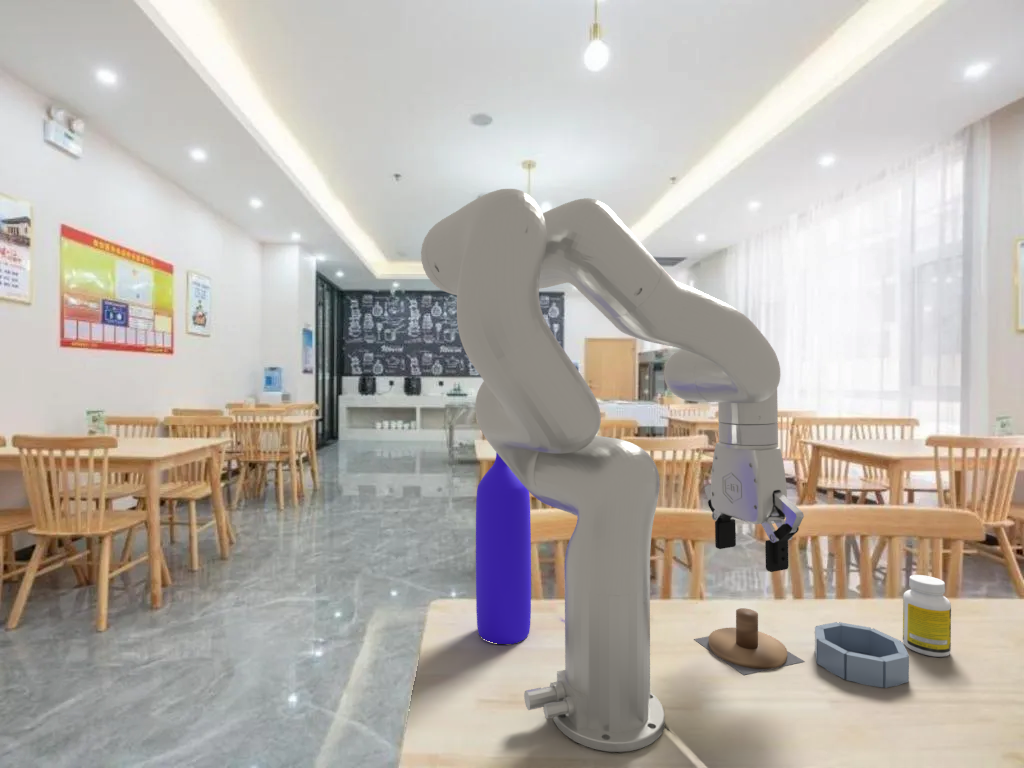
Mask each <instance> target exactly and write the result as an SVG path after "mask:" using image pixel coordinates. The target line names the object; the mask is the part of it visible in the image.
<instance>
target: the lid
mask: <svg viewBox="0 0 1024 768" xmlns="http://www.w3.org/2000/svg"><path fill="white" fill-rule="evenodd" d="M708 636H709V647H710V649H711V651H712V652H713V653H714V654H713V653H712V652H711V653H712V654H713V655H715V656H716V655H717V656H718V657H717V656H716V657H717V658H719V657H720V658H721V659H720V658H719V659H720V660H722V659H723V660H725V661H727V662H730V663H733V664H735V665H739V666H743V667H747V668H754V669H770V670H772V669H771V668H775V669H777V668H776V667H779V668H781V667H780V666H782V665H783V664H785V663H786V661H787V651H788V649H787V647H786V646H785V644H783V643H782V642H781V641H780V640H778V639H777V638H776V637H773V636H772V635H769V634H767V633H764V632H762V631H759V613H758V612H757V611H755V610H754V609H750V608H747V607H746V608H745V607H744V608H740V607H739V608H738V609H736V611H735V627H723V628H718V629H715V630H713V631H712V632H710V634H709V635H708ZM723 660H722V661H723Z"/></svg>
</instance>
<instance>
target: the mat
mask: <svg viewBox="0 0 1024 768" xmlns="http://www.w3.org/2000/svg"><path fill="white" fill-rule="evenodd" d="M693 640H694V641H695V642H696V643H698V644H700V645H701V646H702V647H704V648H705V649H706V650H707V651H709V652H710V653H711V654H713V655H715V654H714V653H713V652H712V651H711V649H710V647H709V635H707V636H702V637H697V638H694V639H693ZM715 656H716V657H717V658H719V659H720V660H722V662H724V663H726V664H728V666H730V667H732V668H733V669H734V670H735V671H737V672H738V673H740V674H741V675H743V676H747V675H751V674H756V673H760V672H765V671H769V670H774V669H777V668H779V669H780V668H783V667H788V666H793V665H796V664H801V663H805V660H803V659H802V658H800V657H798V656H797V655H795V654H793V653H791V652H789V651H788V650H787V661H786V663H785V664H783V665H782V666H780V667H776V668H771V669H754V668H747V667H743V666H739V665H735V664H733V663H730V662H727V661H725V660H723V659H721V658H720V657H718V656H717V655H715Z"/></svg>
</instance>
